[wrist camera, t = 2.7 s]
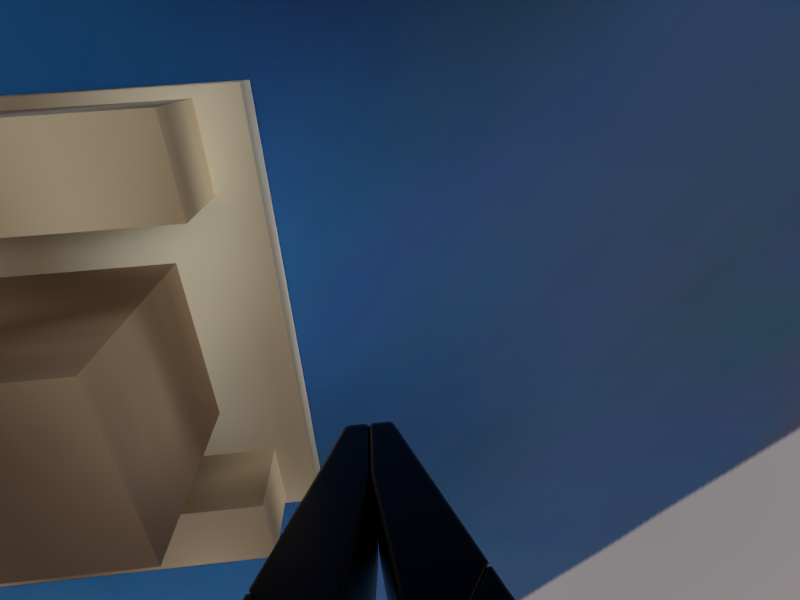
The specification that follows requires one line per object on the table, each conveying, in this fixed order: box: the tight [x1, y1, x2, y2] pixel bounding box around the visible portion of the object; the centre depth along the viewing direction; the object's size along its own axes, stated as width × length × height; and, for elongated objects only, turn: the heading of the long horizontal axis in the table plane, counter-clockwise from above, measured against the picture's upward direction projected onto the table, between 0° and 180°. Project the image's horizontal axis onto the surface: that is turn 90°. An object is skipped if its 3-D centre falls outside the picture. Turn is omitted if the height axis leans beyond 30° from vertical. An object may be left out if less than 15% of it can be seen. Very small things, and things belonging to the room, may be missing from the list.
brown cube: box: [0, 263, 220, 584], centre depth 10 cm, size 4×4×4 cm
